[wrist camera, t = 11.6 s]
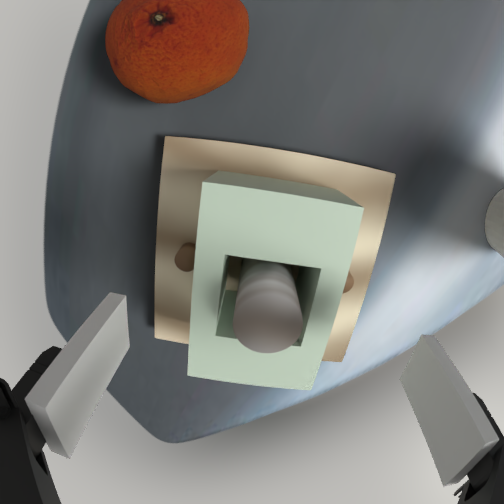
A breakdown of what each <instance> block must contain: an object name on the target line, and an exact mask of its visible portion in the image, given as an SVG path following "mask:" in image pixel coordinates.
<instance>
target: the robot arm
mask: <svg viewBox="0 0 504 504" xmlns="http://www.w3.org/2000/svg"><path fill="white" fill-rule="evenodd" d="M129 347H130V345H129V333H128V320H127V303H126V295H121V294H116V293H111V292H110V293H109V294H108V295H107V296H106V298H105V299H104V300H103V301H102V302H101V303H100V305H99V306H98V307H97V308H96V309H95V310H94V312H93V313H92V314H91V315H90V316H89V317H88V319H87V320H86V321H85V322H84V323H83V325H82V326H81V327H80V328H79V329H78V331H77V332H76V333H75V334H74V335H73V337H72V338H71V339H70V340H69V342H68V343H67V344H66V345H65V347H64V348H63V349H61V348H58V347H55V346H52V347H51V348H49V349H47V350H46V351H44V352H42V354H41V355H40V356H39V357H38V359H37V360H36V361H35V363H33V365H32V366H31V367H30V370H28V371H27V372H26V373H25V374H24V376H23V377H22V378H21V379H20V381H19V382H18V383H17V384H16V386H15V387H14V388H13V389H12V391H11V389H10V387H9V385H8V383H7V382H6V381H5V380H4V379H1V378H0V504H61V502H60V499H59V497H58V494H57V491H56V489H55V486H54V483H53V480H52V477H51V474H50V471H49V468H48V465H47V462H46V458H45V455H44V452H43V451H42V448H43V446H44V444H45V443H47V444H48V446H49V448H50V449H51V451H53V452H55V453H57V454H59V455H62V456H64V457H66V458H69V459H70V457H71V456H72V453H73V451H74V449H75V447H76V445H77V443H78V441H79V439H80V437H81V435H82V434H83V432H84V430H85V428H86V425H87V424H88V422H89V420H90V418H91V416H92V414H93V412H94V410H95V408H96V406H97V405H98V403H99V401H100V399H101V397H102V395H103V394H104V392H105V390H106V388H107V386H108V384H109V383H110V381H111V379H112V377H113V375H114V373H115V372H116V370H117V368H118V366H119V364H120V363H121V361H122V359H123V357H124V356H125V354H126V352H127V350H128V349H129ZM400 381H401V383H402V385H403V388H404V390H405V392H406V394H407V397H408V399H409V401H410V403H411V405H412V408H413V410H414V413H415V415H416V417H417V420H418V422H419V424H420V427H421V429H422V432H423V434H424V436H425V439H426V442H427V444H428V447H429V449H430V452H431V454H432V457H433V459H434V462H435V465H436V467H437V470H438V473H439V475H440V478H441V481H442V483H443V486H444V487H445V486H448V485H452V484H456V483H458V482H459V481H460V480H461V479H463V478H464V477H465V476H466V475H468V478H469V480H468V481H467V482H466V483H465V484H463V486H461V487H460V488H459V489H458V490H457V491H456V492H455V493H454V496H456V495H457V494H458V493H459V492H460V491H462V493H461V495H460V496H459V498H460V499H459V501H458V504H504V436H503V435H502V433H501V431H500V429H499V427H498V426H497V424H496V423H495V421H494V419H493V418H492V417H491V414H490V412H489V411H488V410H487V407H486V405H485V404H484V402H483V401H482V399H480V398H479V397H478V396H477V395H476V394H475V393H472V392H471V390H470V388H469V387H468V385H467V384H466V382H465V381H464V379H463V377H462V376H461V374H460V373H459V371H458V370H457V368H456V367H455V366H454V364H453V362H452V361H451V359H450V358H449V356H448V355H447V353H446V352H445V350H444V349H443V347H442V346H441V344H440V343H439V342H438V340H437V339H436V338H435V336H434V335H421V337H420V339H419V341H418V343H417V346H416V348H415V350H414V352H413V354H412V356H411V358H410V360H409V362H408V364H407V366H406V368H405V370H404V372H403V374H402V376H401V378H400Z"/></svg>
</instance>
